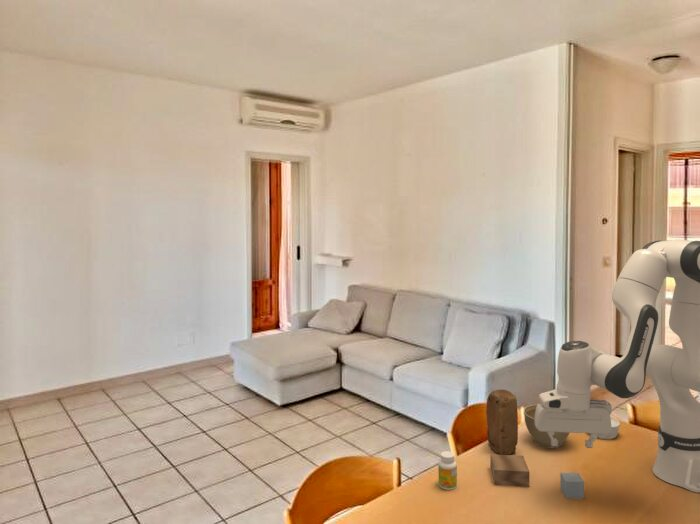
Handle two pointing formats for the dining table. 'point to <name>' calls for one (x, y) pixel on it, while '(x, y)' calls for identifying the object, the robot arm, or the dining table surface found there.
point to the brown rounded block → (502, 421)
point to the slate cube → (572, 485)
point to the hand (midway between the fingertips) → (571, 446)
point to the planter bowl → (541, 436)
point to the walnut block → (509, 470)
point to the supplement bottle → (447, 471)
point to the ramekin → (614, 430)
